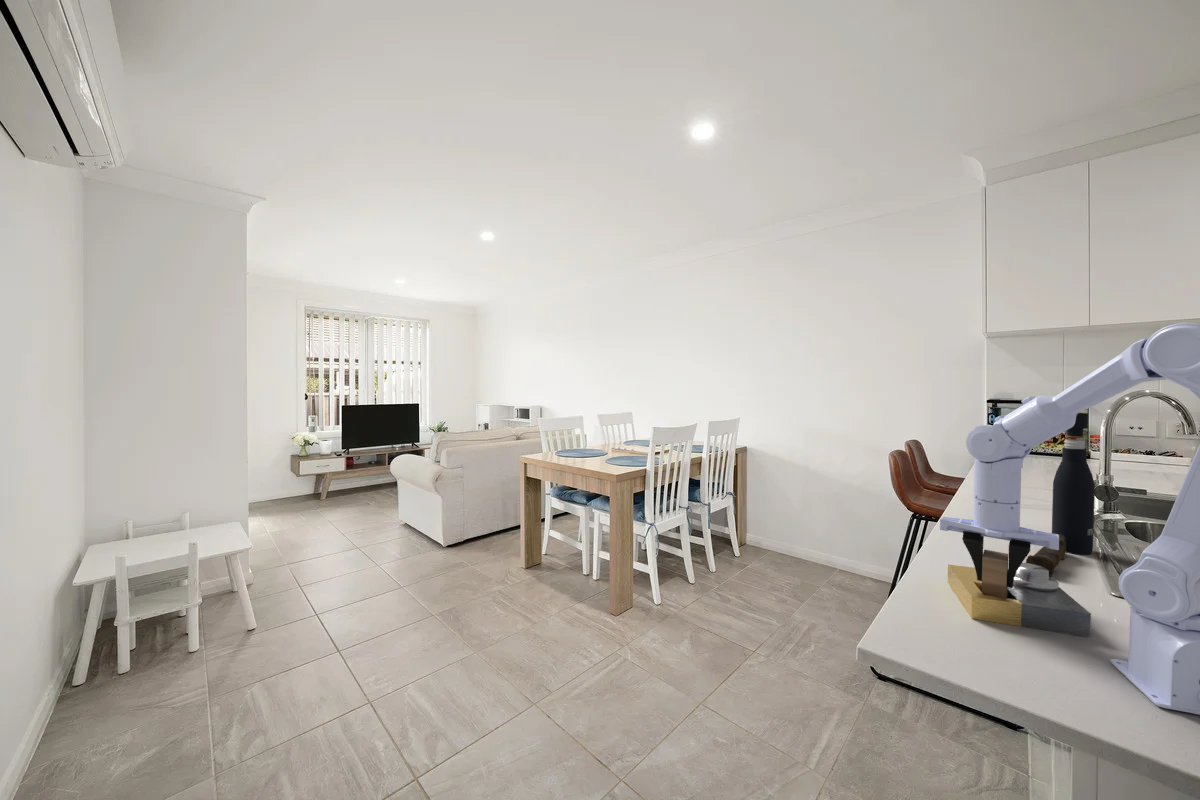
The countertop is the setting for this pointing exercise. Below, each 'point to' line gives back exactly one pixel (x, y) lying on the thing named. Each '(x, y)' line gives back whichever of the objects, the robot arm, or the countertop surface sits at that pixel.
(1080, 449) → the wine bottle
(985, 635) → the countertop surface
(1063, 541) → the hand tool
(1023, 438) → the robot arm
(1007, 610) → the slotted base block
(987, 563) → the wedge
